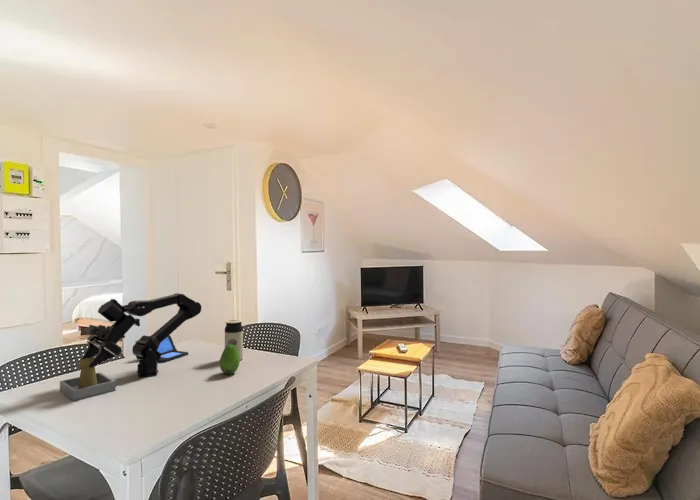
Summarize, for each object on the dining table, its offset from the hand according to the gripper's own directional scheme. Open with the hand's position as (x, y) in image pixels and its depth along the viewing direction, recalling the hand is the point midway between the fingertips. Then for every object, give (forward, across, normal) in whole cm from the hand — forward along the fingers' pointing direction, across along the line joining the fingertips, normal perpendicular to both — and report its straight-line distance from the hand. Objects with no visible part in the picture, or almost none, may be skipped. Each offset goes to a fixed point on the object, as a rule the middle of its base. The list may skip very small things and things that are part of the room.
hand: (85, 364), depth 135 cm
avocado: (-24, +24, +38) cm, 51 cm away
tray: (+6, 0, +7) cm, 10 cm away
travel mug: (-33, +8, +47) cm, 58 cm away
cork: (+6, 0, +7) cm, 9 cm away
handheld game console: (-20, -21, +35) cm, 45 cm away
